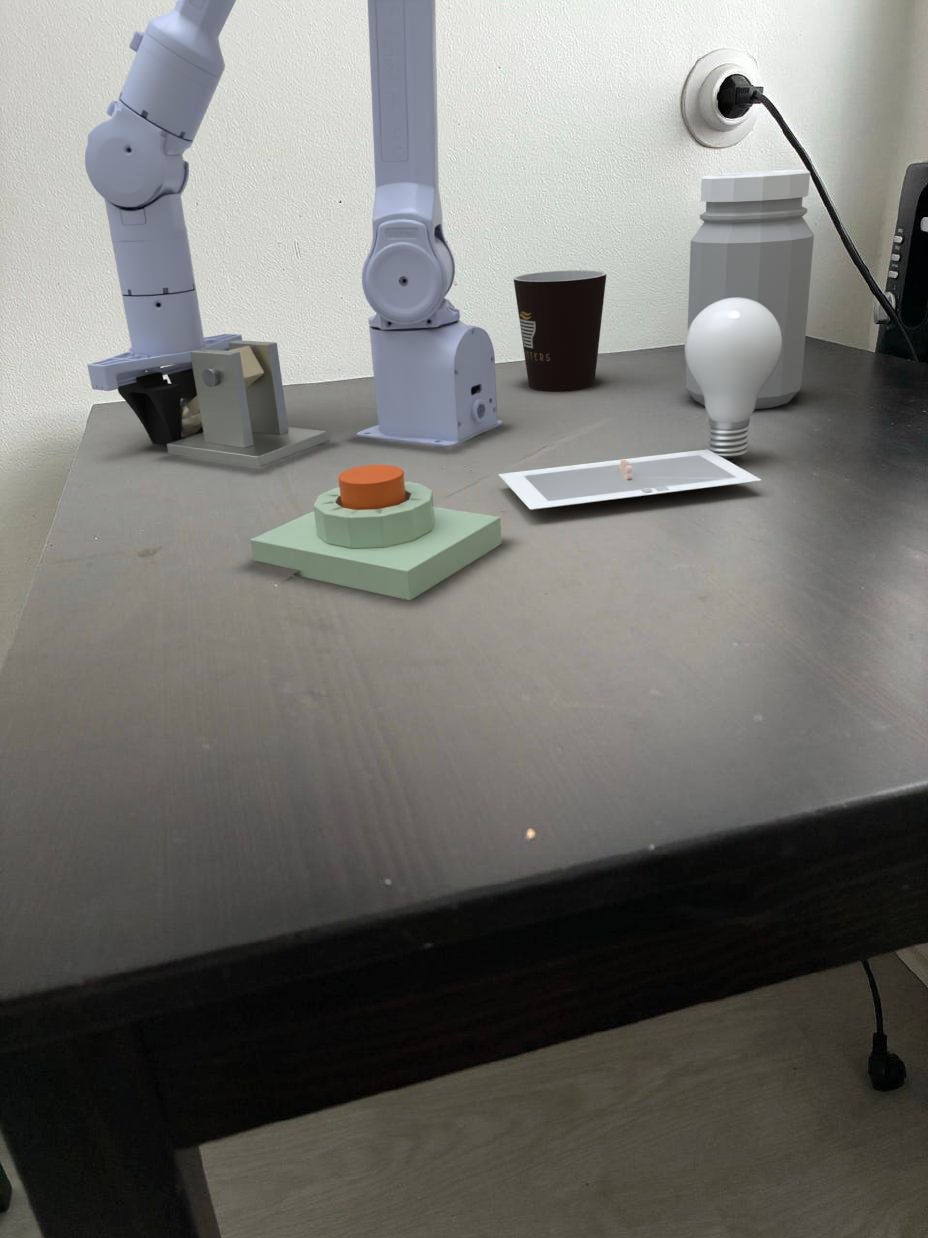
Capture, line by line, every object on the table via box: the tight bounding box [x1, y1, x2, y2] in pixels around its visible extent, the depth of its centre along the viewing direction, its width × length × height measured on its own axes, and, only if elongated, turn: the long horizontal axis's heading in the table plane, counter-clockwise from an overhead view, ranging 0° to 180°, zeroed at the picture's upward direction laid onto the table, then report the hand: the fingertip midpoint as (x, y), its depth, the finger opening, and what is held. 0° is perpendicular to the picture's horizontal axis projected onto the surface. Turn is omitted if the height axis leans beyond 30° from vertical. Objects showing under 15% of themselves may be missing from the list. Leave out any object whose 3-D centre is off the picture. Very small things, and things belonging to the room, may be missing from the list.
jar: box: [685, 169, 815, 410], centre depth 83 cm, size 10×10×18 cm
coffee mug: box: [513, 269, 607, 392], centre depth 96 cm, size 12×9×10 cm
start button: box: [338, 464, 406, 510], centre depth 55 cm, size 4×4×2 cm
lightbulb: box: [683, 297, 782, 462], centre depth 68 cm, size 6×6×11 cm
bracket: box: [166, 339, 330, 468], centre depth 78 cm, size 10×8×8 cm
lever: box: [180, 346, 264, 436], centre depth 80 cm, size 11×3×3 cm
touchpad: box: [498, 448, 763, 510], centre depth 64 cm, size 8×15×2 cm, turn 102°
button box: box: [250, 480, 502, 601], centre depth 56 cm, size 11×9×4 cm
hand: (187, 459), depth 84 cm, fingers closed on lever, 3 cm apart
